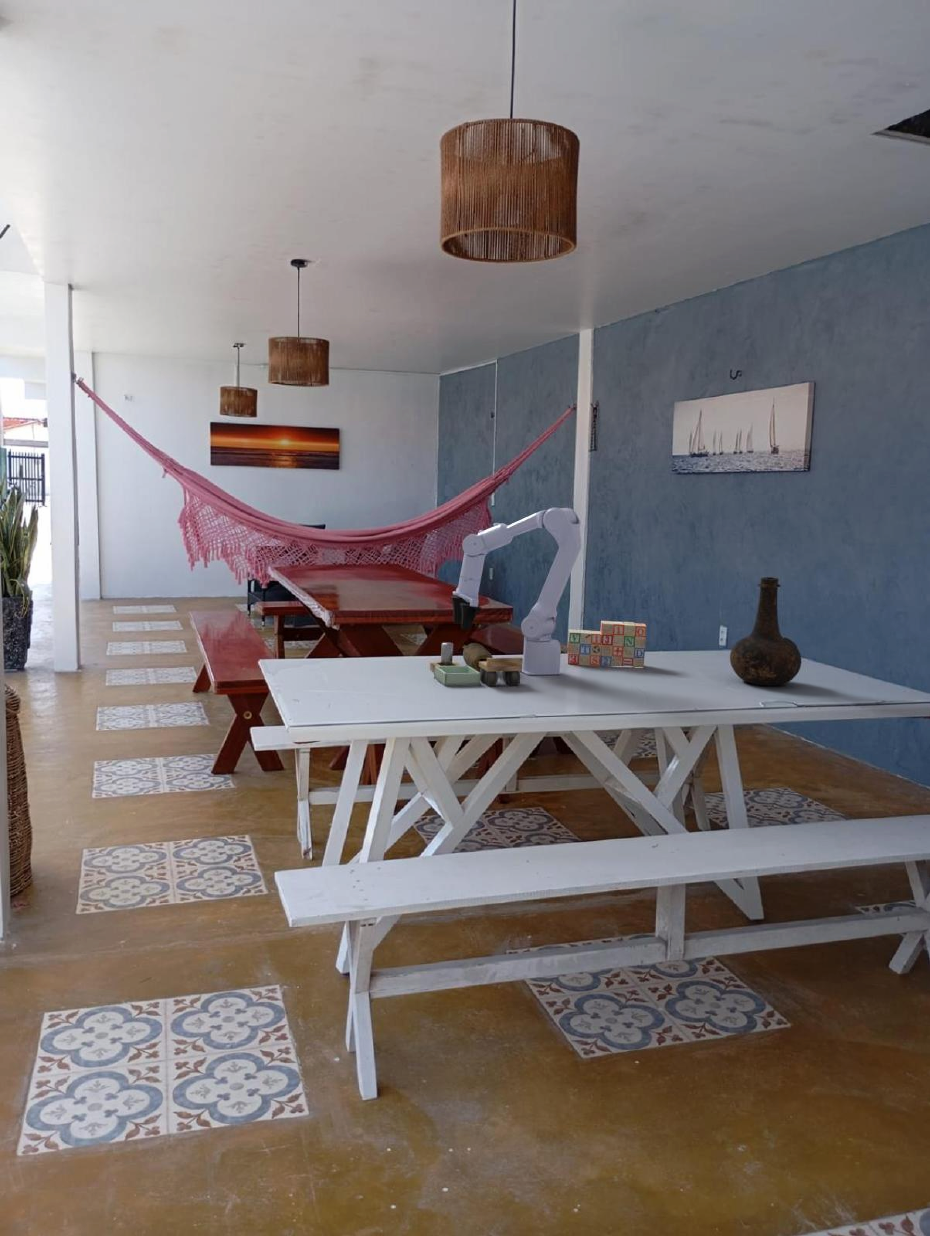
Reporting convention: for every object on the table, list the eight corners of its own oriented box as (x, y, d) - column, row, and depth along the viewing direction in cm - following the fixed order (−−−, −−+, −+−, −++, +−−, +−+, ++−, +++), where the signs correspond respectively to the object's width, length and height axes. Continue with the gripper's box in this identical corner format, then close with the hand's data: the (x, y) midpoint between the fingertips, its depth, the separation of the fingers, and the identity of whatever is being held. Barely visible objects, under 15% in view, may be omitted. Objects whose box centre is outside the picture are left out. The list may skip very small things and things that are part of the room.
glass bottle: (812, 690, 250) (821, 581, 247) (748, 690, 247) (757, 580, 243) (776, 676, 268) (785, 575, 264) (716, 676, 264) (724, 573, 260)
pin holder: (455, 669, 258) (455, 661, 258) (462, 674, 252) (463, 666, 251) (429, 669, 256) (430, 661, 256) (436, 674, 250) (437, 666, 249)
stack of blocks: (567, 664, 273) (569, 621, 271) (566, 661, 279) (569, 618, 278) (644, 669, 271) (647, 625, 270) (642, 665, 277) (644, 622, 276)
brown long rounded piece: (457, 665, 265) (458, 641, 264) (482, 665, 267) (483, 641, 266) (472, 676, 250) (473, 650, 250) (498, 675, 252) (499, 650, 251)
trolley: (511, 680, 246) (512, 653, 245) (521, 686, 239) (523, 658, 238) (477, 680, 243) (478, 653, 242) (487, 687, 236) (488, 658, 235)
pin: (450, 670, 256) (451, 642, 255) (453, 672, 253) (454, 644, 252) (439, 670, 255) (440, 642, 254) (442, 673, 252) (443, 644, 251)
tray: (468, 677, 247) (468, 665, 247) (480, 685, 238) (480, 673, 238) (434, 678, 245) (434, 666, 244) (444, 686, 235) (445, 673, 235)
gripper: (449, 570, 270) (440, 618, 272) (464, 581, 256) (455, 631, 259) (473, 574, 272) (464, 620, 275) (489, 584, 259) (479, 634, 261)
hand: (461, 626), depth 267 cm, fingers open, 7 cm apart
